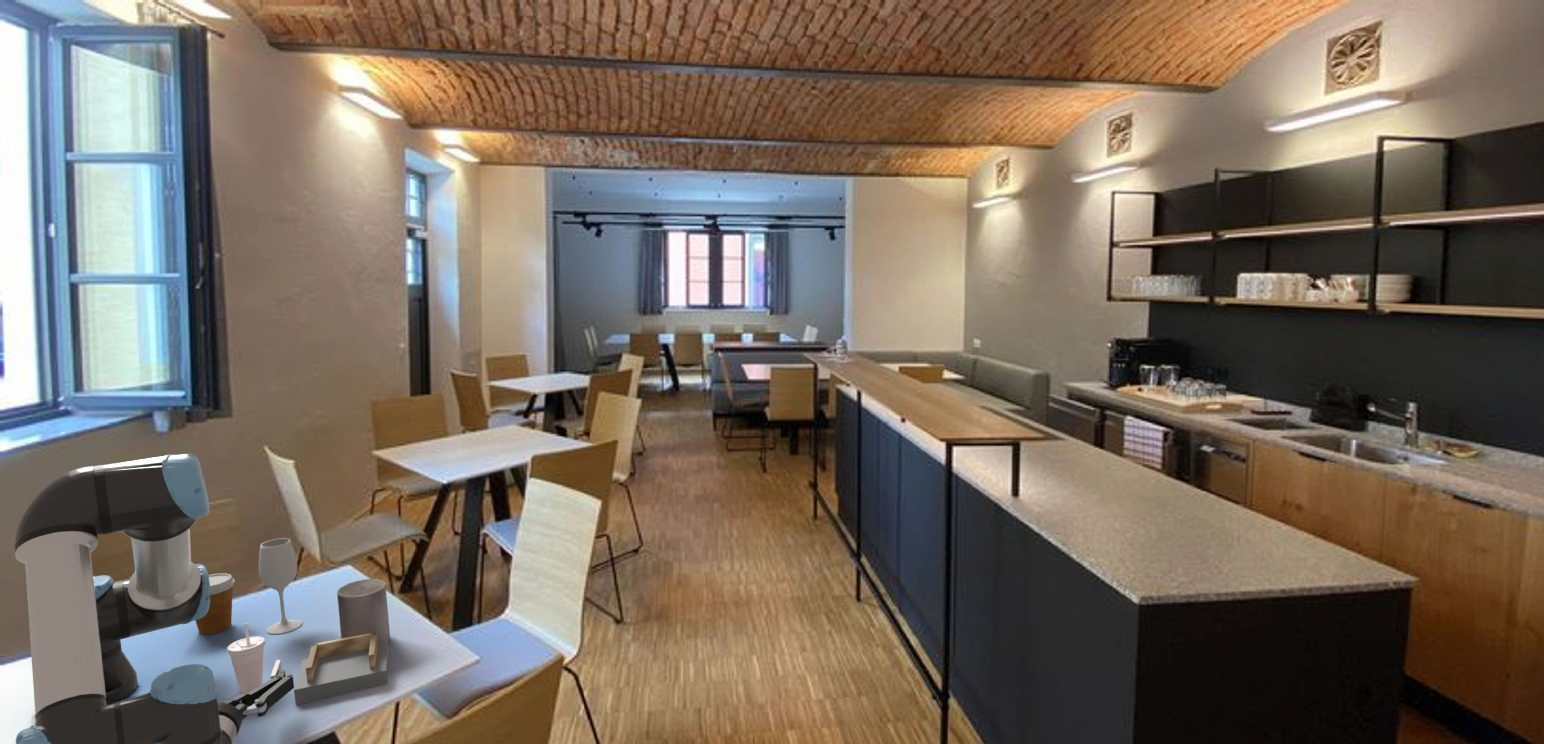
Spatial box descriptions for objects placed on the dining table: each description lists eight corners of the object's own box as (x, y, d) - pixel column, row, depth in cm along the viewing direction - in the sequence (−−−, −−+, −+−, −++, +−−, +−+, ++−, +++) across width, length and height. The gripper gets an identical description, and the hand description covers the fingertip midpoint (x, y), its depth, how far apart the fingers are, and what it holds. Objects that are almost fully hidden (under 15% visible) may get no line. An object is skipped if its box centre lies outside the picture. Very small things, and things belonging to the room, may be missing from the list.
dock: (295, 704, 148) (294, 689, 148) (304, 672, 160) (302, 659, 159) (387, 684, 155) (385, 670, 154) (389, 655, 167) (387, 642, 166)
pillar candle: (339, 643, 173) (332, 580, 171) (386, 630, 179) (380, 569, 176) (346, 660, 165) (339, 595, 163) (395, 646, 171) (389, 583, 169)
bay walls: (307, 682, 150) (305, 668, 150) (313, 657, 160) (312, 643, 160) (375, 668, 155) (374, 654, 155) (377, 644, 165) (376, 631, 165)
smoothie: (250, 698, 151) (243, 631, 149) (223, 695, 152) (215, 629, 150) (277, 681, 157) (270, 616, 155) (251, 678, 158) (244, 614, 156)
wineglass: (279, 619, 185) (270, 536, 182) (310, 619, 185) (301, 536, 182) (257, 634, 178) (248, 548, 175) (289, 634, 177) (280, 548, 175)
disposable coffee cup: (188, 628, 182) (182, 580, 180) (236, 615, 188) (230, 569, 186) (192, 642, 175) (186, 592, 173) (242, 628, 181) (236, 580, 179)
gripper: (117, 778, 121) (158, 710, 140) (300, 735, 131) (314, 677, 150) (111, 734, 120) (152, 672, 139) (296, 694, 130) (311, 641, 149)
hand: (237, 674), depth 145 cm, fingers open, 13 cm apart
